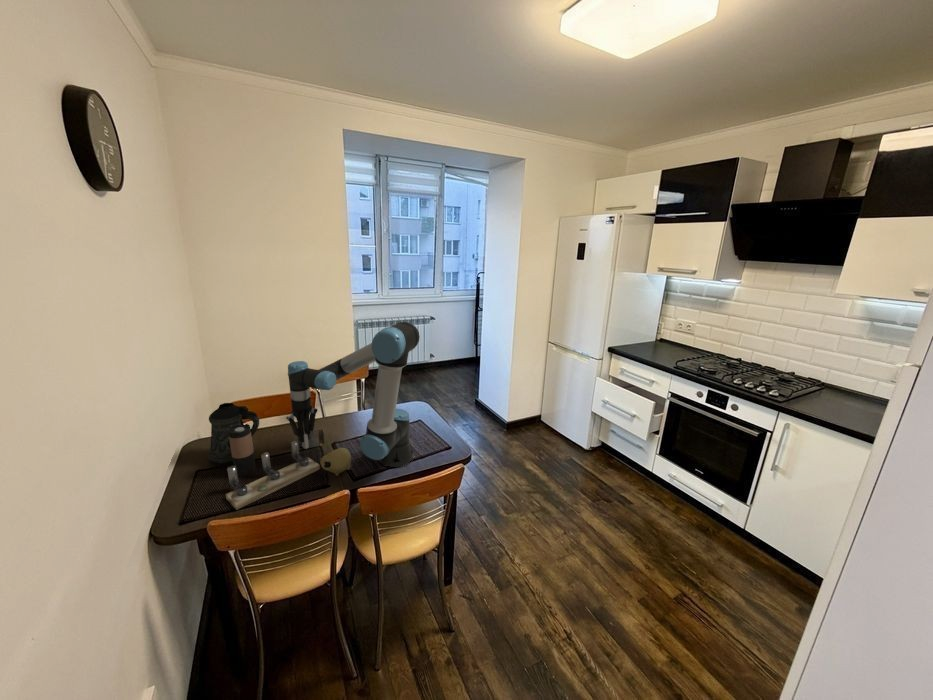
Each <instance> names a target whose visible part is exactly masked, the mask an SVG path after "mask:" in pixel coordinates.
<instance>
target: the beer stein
mask: <svg viewBox="0 0 933 700" xmlns="http://www.w3.org/2000/svg"><path fill="white" fill-rule="evenodd" d="M243 420H251V421H252V426H251V427H250V430H251V436H252V437H253V436H254V435H255V433H256V432H257V431H258V429H259V426H260V418H259V416H258V414H257V413H255V412H254V411H250V410H249V408H248V407H247V406H246V405H241V406H238V405H236V404H234V403H233V402H224V403H220V404H219V406H218V407H217V409H215V410H213V412H211V414H209V416H208V421H209V423H210V424H211V425H210V426H211V428H210V430H211V431H210V433H211V434H210V435H211V437H210V448H209V451H208V453H207V457H208V460H209V464H210V465H211V466H212V467H214V468H220V469H221V468H223V469H224V468H228V467H230V466H234V464H233V459H232V453H231V447H230V440H229V434H228V429H229V428H230V427H232V426H234V425H238V424H239V425H245V424H244V421H243Z"/></svg>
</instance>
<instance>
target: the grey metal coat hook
mask: <svg viewBox="0 0 933 700" xmlns="http://www.w3.org/2000/svg"><path fill="white" fill-rule="evenodd" d="M226 468H227V469H226V471H227V476H228V481H229V485H231V487H232V488H233V490H236V491H237V495H238V496H243V495H245V494H247V492H248V491H247V486H245V485H242V484H241V483H240V482H239V476H238V475H237V469H236V466H230V467H226Z"/></svg>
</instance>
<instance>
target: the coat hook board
mask: <svg viewBox="0 0 933 700" xmlns="http://www.w3.org/2000/svg"><path fill="white" fill-rule="evenodd" d="M306 458H308V460H309V464H308V465H307V466H301V465H300V463H299V462H298V461H297V462H294V463H291V464H289V465H287V466H285V467H283V468H281V469H278V470H277V471H279V472H280V478H279V479H277V480H271V476H269V475H268V474H267V475H265V476H263V477H261V478H258V479H256V480H254V481H252V482H249V483H248V484H245V485H244V486H247V491H248V492H247V494H245V495H243V496H238V495H237V491H236V490H235V489H233V490H232V491H230V492H227V493H225V498H226V500H227V501H228V502H229V503H230V505H231V506H232V507H233V508H234V509H235V510H236V511H237V510H240V509H241V508H244V507H245V506H247V505H250V504H251V503H253V502H255V501H258V500H261V499H262V498H263V497H266V496H268V495H269V494H272V493H275V492H276V491H278V490H280V489H282V488H284V487H286V486H288V485H291V484H293V483H294V482H296V481H298V480H301V479H302V478H304V477H306V476H309V475H311V474H313V473H316V472H317V471H319V470H320V468H321V464H319V463H318V462H316V461H315V460H313V459H312V458H311V457H309V456H306Z"/></svg>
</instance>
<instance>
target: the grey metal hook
mask: <svg viewBox="0 0 933 700" xmlns="http://www.w3.org/2000/svg"><path fill="white" fill-rule="evenodd" d="M260 456H261V457H260V458H261V464H262V466H261V467H262V470H263V471H264V472H265V473H266V474H267V475H269V476H271V480H277V479H279V478H280V472H279V471H278V470H275V469H272V466H271V459H270V453H269V452H268V451H267V452H263V453H260Z"/></svg>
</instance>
